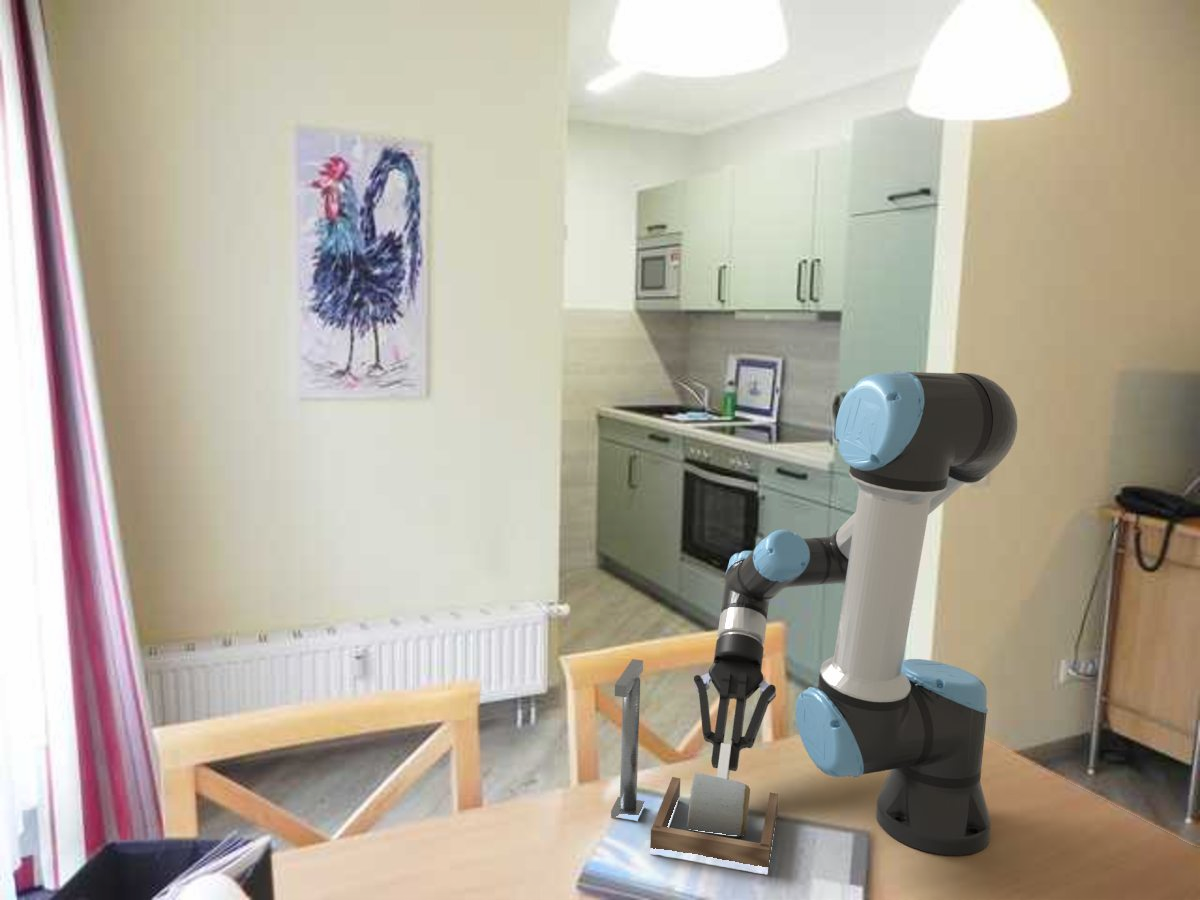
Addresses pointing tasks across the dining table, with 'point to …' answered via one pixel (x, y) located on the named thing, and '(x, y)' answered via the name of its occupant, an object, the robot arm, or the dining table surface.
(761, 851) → the tray frame
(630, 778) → the t stake
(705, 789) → the grey upright rounded block
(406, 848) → the dining table surface
